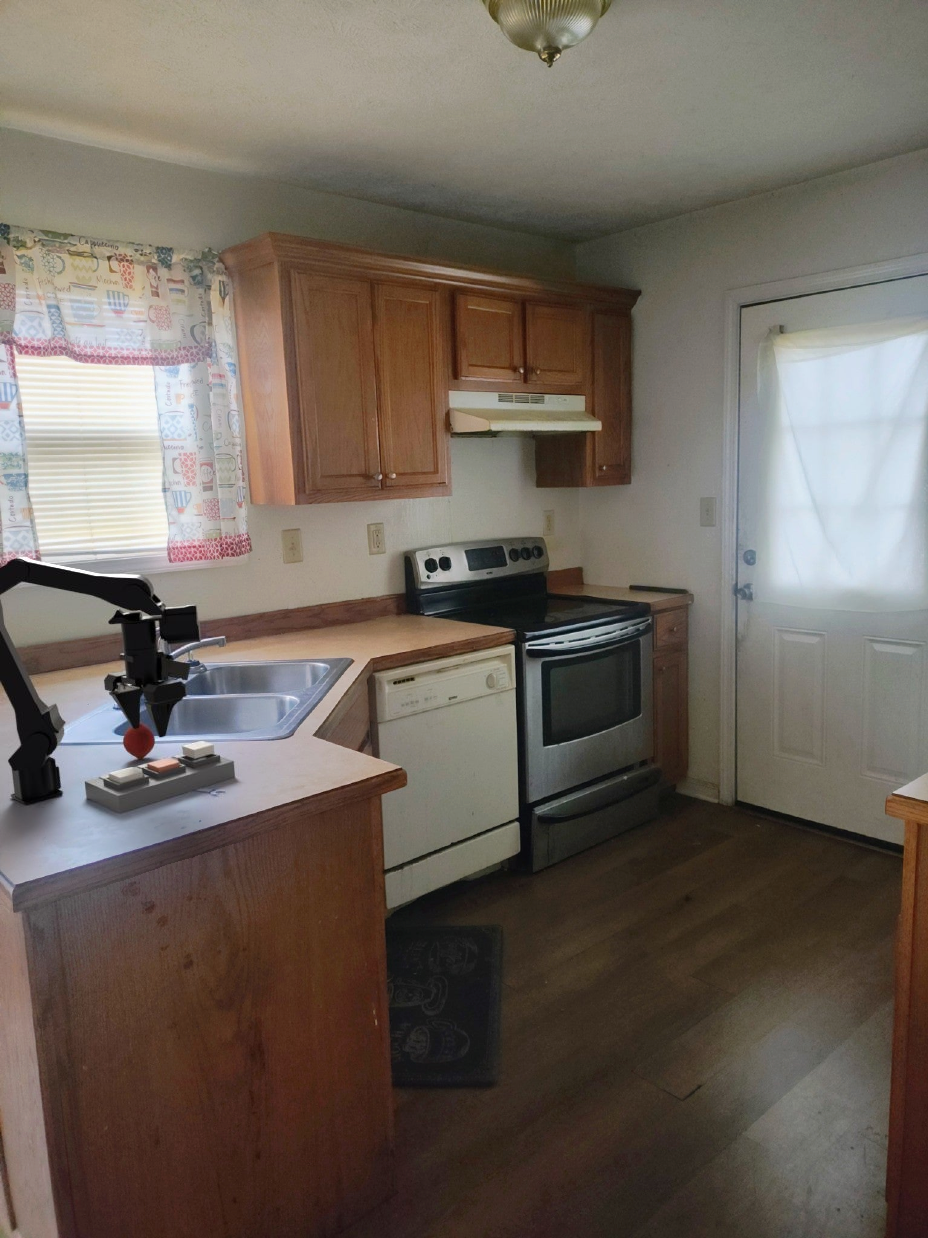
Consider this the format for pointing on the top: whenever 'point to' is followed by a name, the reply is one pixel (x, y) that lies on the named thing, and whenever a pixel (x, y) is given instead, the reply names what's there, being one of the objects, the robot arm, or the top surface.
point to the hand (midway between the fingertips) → (148, 732)
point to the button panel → (159, 782)
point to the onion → (139, 741)
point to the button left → (125, 775)
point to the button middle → (163, 765)
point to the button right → (198, 749)
